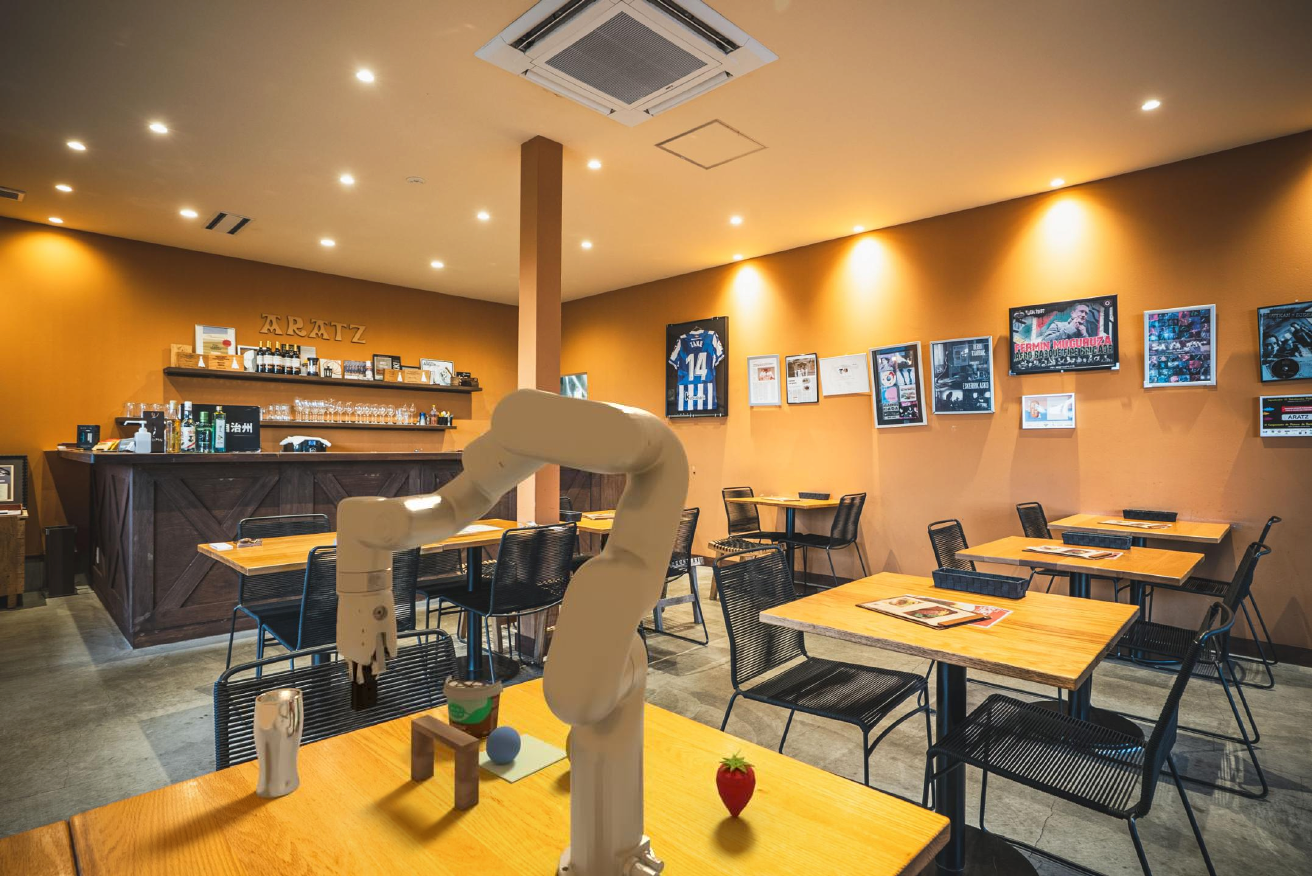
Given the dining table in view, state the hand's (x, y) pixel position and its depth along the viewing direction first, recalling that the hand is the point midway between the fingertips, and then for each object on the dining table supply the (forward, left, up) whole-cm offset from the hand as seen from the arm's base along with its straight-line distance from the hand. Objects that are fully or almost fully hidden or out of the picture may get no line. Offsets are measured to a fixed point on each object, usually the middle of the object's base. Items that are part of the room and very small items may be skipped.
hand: (363, 707), depth 94 cm
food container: (+15, -27, -17) cm, 35 cm away
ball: (+1, -25, -14) cm, 29 cm away
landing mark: (0, -28, -17) cm, 33 cm away
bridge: (0, -13, -17) cm, 21 cm away
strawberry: (-40, -37, -17) cm, 57 cm away
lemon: (-12, -32, -17) cm, 38 cm away
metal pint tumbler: (+21, +4, -17) cm, 28 cm away
